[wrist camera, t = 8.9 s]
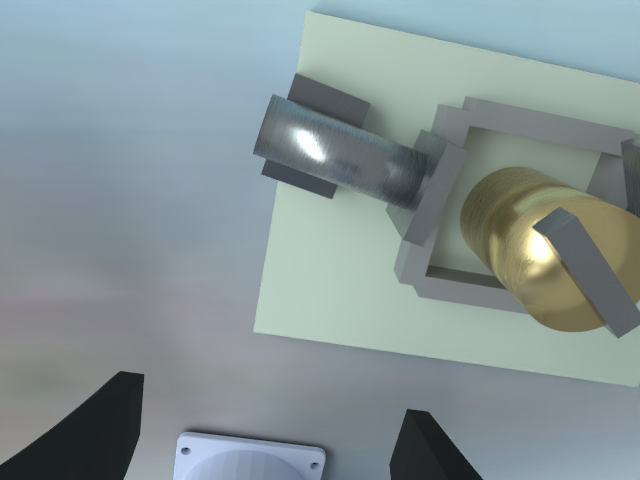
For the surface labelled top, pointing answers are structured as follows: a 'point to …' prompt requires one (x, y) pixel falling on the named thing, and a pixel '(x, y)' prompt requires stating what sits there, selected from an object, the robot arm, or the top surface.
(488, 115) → the bench plate
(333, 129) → the shaft
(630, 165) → the shaft
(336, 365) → the top surface
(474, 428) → the top surface
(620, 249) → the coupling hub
